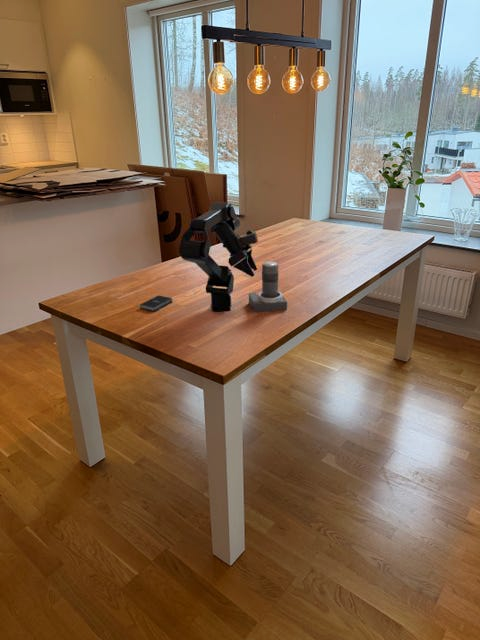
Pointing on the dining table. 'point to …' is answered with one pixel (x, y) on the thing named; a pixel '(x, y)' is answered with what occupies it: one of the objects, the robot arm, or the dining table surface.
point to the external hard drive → (156, 303)
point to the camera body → (267, 302)
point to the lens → (270, 280)
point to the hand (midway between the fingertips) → (254, 272)
